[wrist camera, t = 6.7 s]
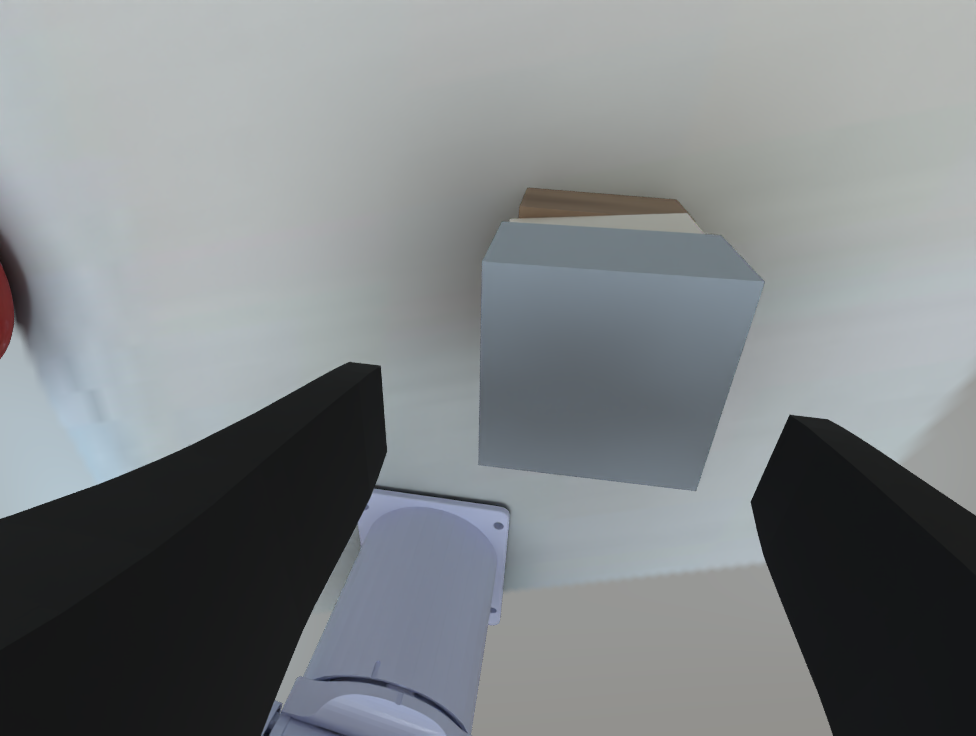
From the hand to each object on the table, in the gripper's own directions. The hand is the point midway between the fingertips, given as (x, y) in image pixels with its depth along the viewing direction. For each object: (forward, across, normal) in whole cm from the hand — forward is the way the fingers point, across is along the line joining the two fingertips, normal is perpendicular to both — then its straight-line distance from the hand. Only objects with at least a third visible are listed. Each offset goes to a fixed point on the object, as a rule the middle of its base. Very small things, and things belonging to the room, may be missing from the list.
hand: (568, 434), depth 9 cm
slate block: (+4, -1, 0) cm, 5 cm away
